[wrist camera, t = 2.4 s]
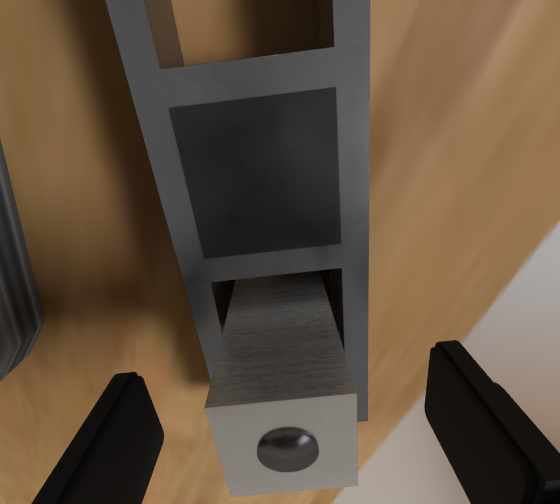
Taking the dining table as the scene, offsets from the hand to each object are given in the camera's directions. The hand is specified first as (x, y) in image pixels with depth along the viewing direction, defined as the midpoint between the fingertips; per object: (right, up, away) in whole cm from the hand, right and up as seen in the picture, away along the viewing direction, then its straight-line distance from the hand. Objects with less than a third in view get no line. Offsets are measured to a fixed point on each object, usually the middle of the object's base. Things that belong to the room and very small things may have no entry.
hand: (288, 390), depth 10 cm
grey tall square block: (0, +3, +5) cm, 6 cm away
